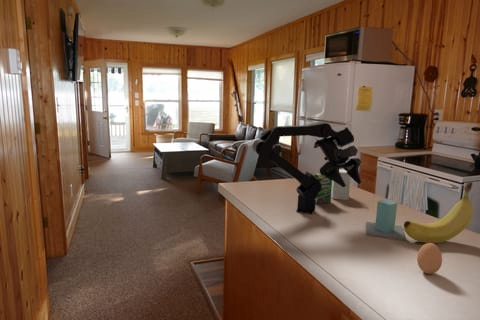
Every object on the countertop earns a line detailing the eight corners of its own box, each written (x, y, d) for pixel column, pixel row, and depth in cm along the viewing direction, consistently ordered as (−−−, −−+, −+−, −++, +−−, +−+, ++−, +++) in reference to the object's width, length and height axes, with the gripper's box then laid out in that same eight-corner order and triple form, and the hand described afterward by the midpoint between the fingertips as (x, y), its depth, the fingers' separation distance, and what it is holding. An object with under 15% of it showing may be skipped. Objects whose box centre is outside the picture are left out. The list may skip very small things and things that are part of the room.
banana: (407, 246, 107) (415, 184, 103) (397, 238, 113) (404, 180, 109) (472, 244, 110) (482, 184, 106) (459, 237, 116) (468, 179, 112)
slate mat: (366, 234, 115) (366, 233, 115) (365, 223, 126) (366, 221, 126) (405, 240, 111) (405, 238, 111) (401, 227, 122) (401, 226, 122)
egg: (429, 280, 87) (433, 249, 86) (410, 269, 92) (414, 240, 91) (445, 276, 89) (449, 246, 88) (425, 266, 94) (429, 237, 93)
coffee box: (316, 204, 147) (318, 174, 144) (312, 202, 149) (314, 173, 147) (331, 202, 150) (333, 173, 148) (326, 200, 153) (329, 172, 150)
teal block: (374, 228, 119) (377, 201, 117) (382, 226, 122) (385, 199, 120) (386, 233, 116) (390, 204, 114) (394, 230, 118) (397, 202, 116)
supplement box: (348, 200, 154) (351, 173, 152) (331, 198, 156) (334, 171, 153) (347, 195, 161) (349, 169, 159) (331, 194, 163) (333, 168, 161)
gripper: (328, 140, 122) (351, 176, 116) (359, 137, 133) (382, 170, 127) (310, 158, 130) (331, 192, 123) (341, 154, 141) (362, 186, 134)
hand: (352, 185), depth 127 cm, fingers open, 9 cm apart
